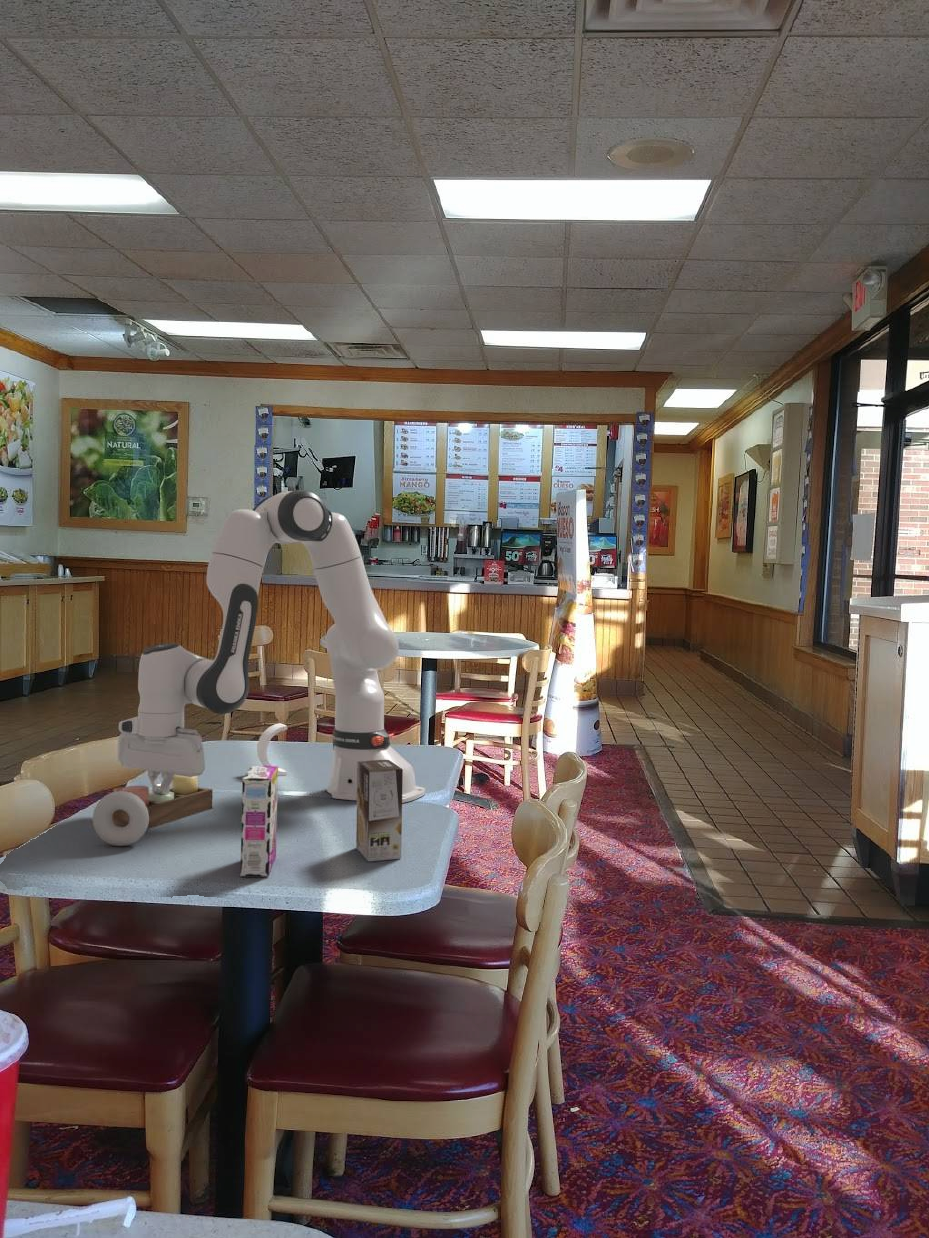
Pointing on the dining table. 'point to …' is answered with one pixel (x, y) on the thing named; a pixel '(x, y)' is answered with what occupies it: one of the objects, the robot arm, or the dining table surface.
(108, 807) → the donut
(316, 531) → the robot arm
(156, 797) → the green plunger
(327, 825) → the dining table surface
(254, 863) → the candy bar box
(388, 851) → the coffee box
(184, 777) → the yellow short cylinder
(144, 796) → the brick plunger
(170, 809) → the wooden compartment tray
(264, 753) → the headphone stand
